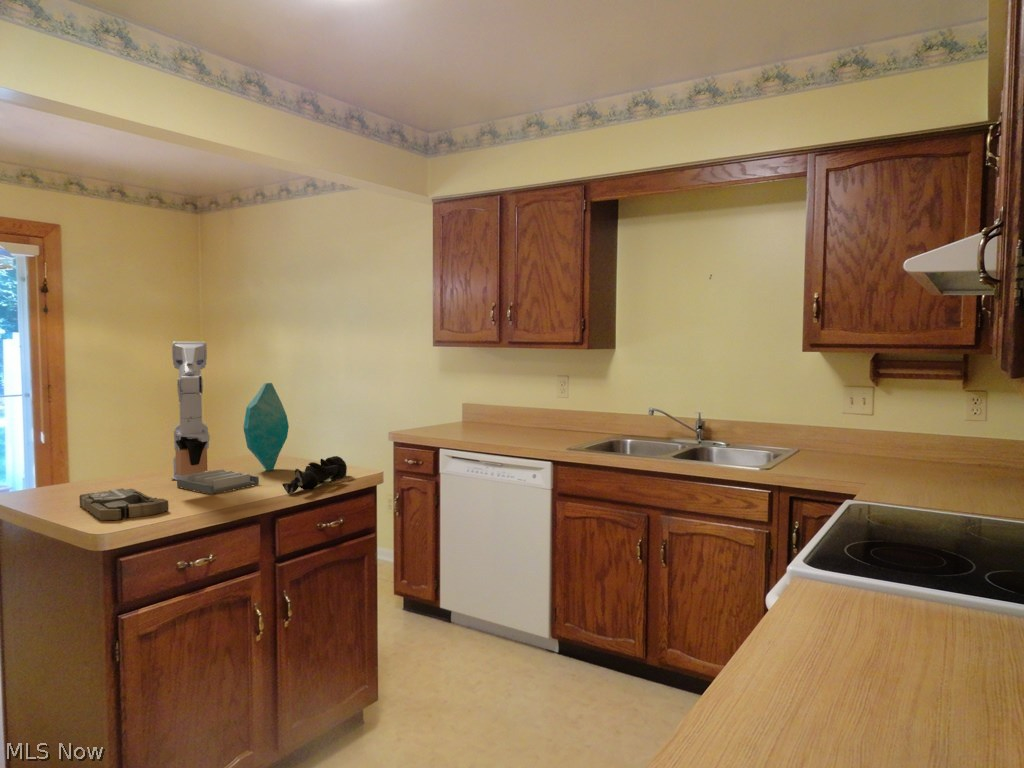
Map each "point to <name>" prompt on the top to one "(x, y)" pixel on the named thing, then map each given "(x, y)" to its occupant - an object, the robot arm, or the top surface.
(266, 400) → the crystal
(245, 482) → the rack
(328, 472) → the figurine
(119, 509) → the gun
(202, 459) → the tile
